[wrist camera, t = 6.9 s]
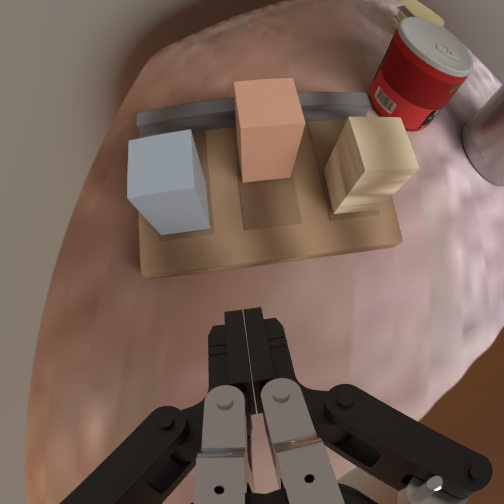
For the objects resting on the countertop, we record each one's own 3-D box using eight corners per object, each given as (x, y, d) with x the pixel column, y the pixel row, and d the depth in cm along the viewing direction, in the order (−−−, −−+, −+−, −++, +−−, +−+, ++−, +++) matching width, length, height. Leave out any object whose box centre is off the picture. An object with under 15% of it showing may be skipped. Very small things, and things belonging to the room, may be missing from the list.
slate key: (205, 182, 26) (190, 129, 18) (210, 228, 25) (194, 187, 18) (159, 189, 26) (128, 140, 18) (161, 235, 25) (127, 198, 17)
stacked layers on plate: (369, 23, 35) (379, -4, 30) (404, 16, 36) (414, -8, 31) (418, 67, 34) (434, 40, 28) (449, 56, 35) (464, 33, 29)
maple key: (365, 167, 27) (400, 117, 19) (376, 209, 26) (419, 168, 18) (323, 170, 27) (348, 116, 19) (333, 214, 26) (365, 170, 18)
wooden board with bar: (352, 104, 31) (364, 77, 27) (393, 247, 28) (416, 234, 23) (145, 123, 30) (133, 97, 26) (148, 278, 27) (130, 270, 22)
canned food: (427, 144, 30) (478, 86, 20) (362, 115, 31) (398, 44, 20) (429, 98, 32) (469, 41, 21) (371, 72, 32) (400, 6, 22)
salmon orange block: (282, 137, 27) (292, 77, 19) (290, 177, 26) (305, 123, 19) (237, 142, 27) (233, 81, 19) (242, 182, 26) (240, 128, 18)
